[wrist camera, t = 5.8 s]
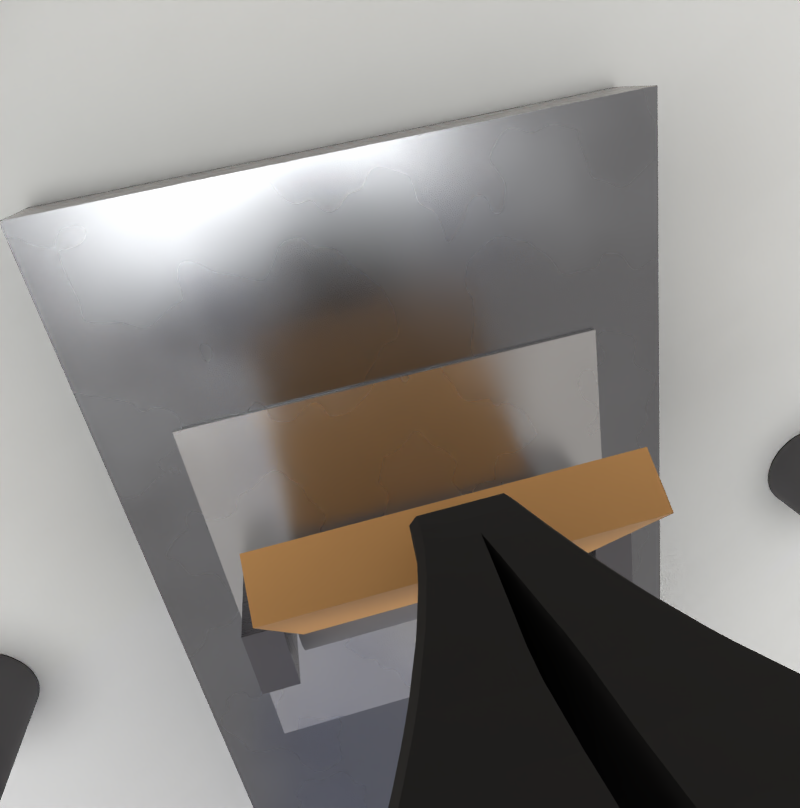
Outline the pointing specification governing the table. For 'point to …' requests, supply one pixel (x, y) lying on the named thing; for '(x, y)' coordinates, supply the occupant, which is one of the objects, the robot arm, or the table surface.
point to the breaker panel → (354, 379)
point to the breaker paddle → (395, 557)
